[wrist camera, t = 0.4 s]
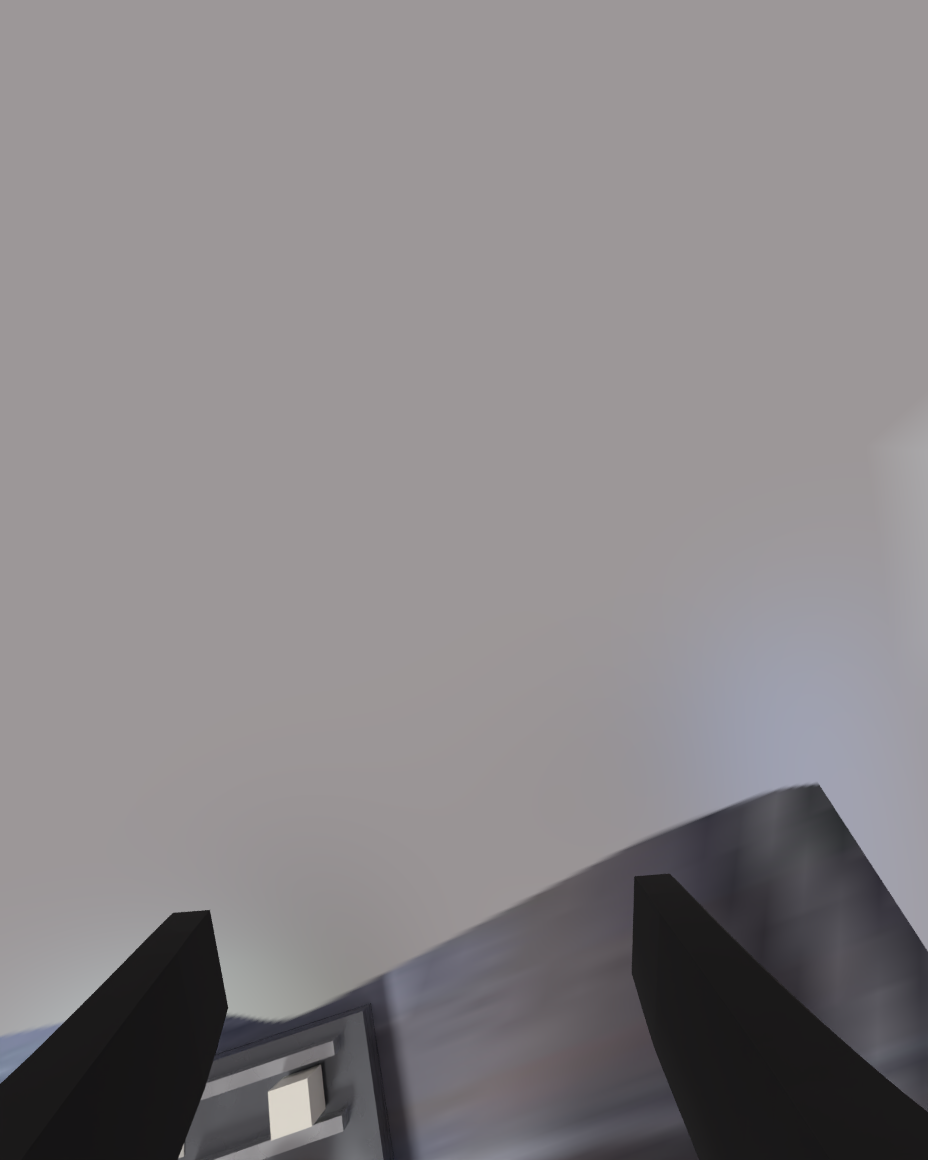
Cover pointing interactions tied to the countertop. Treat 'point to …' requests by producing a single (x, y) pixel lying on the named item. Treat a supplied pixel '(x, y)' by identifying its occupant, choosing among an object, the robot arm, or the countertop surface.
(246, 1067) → the panel
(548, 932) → the countertop surface
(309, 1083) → the slider knob
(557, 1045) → the countertop surface
